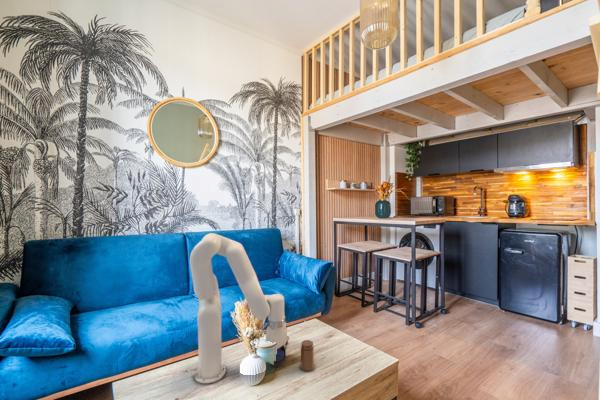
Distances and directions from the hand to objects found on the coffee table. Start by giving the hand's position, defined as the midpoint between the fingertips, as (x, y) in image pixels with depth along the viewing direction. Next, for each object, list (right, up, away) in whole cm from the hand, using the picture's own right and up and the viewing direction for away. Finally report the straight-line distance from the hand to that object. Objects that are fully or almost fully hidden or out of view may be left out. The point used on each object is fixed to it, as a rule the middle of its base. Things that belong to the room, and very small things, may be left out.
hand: (277, 360), depth 127 cm
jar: (+14, -1, -4) cm, 14 cm away
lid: (0, +3, 0) cm, 3 cm away
